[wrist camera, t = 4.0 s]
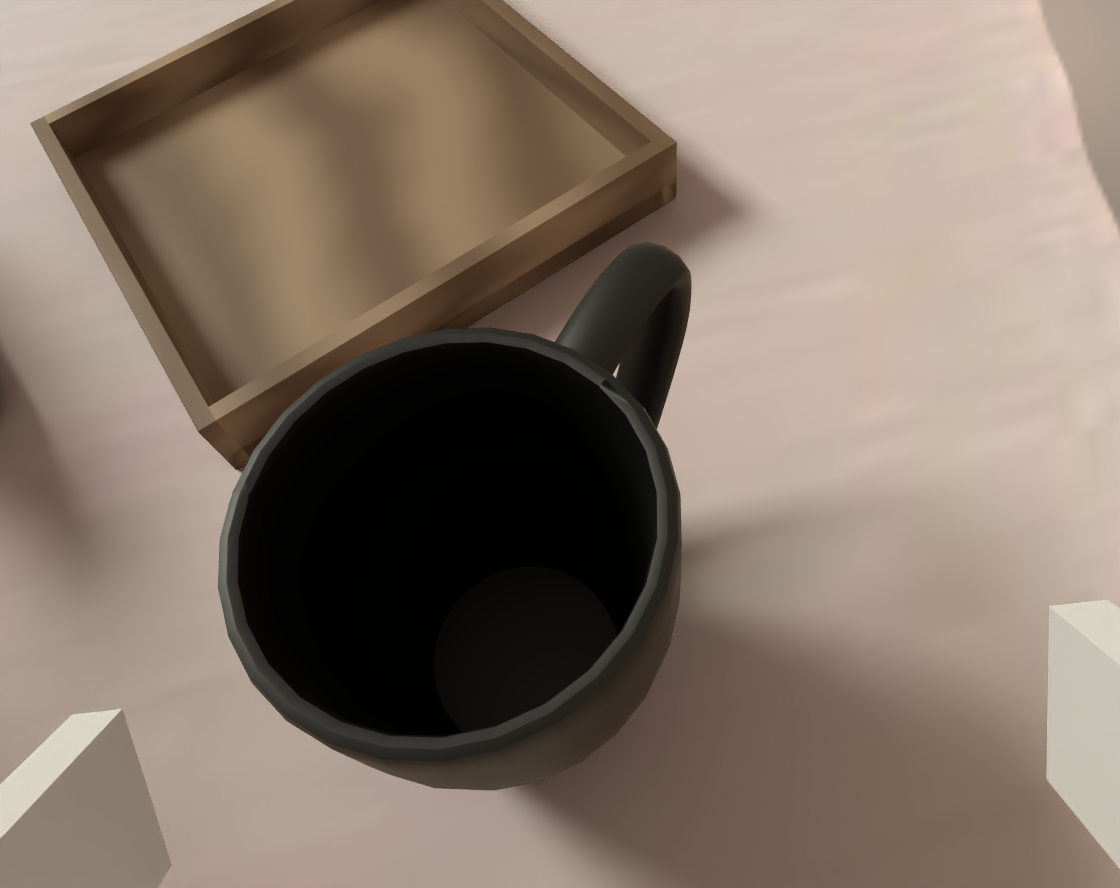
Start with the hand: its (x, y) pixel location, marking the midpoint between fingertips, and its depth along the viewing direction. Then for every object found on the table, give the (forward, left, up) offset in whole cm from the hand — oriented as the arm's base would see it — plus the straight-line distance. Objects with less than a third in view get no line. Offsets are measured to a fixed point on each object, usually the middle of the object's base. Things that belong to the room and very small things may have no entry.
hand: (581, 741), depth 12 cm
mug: (+2, +5, -10) cm, 12 cm away
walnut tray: (+5, +24, -10) cm, 27 cm away
